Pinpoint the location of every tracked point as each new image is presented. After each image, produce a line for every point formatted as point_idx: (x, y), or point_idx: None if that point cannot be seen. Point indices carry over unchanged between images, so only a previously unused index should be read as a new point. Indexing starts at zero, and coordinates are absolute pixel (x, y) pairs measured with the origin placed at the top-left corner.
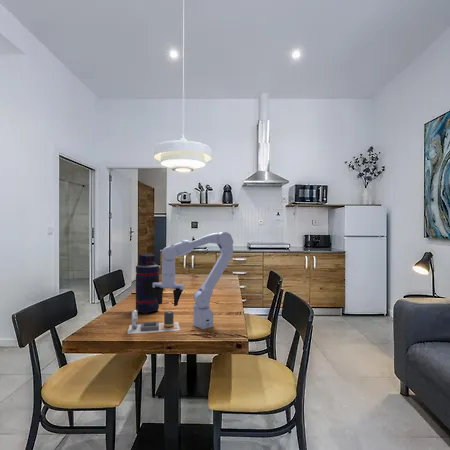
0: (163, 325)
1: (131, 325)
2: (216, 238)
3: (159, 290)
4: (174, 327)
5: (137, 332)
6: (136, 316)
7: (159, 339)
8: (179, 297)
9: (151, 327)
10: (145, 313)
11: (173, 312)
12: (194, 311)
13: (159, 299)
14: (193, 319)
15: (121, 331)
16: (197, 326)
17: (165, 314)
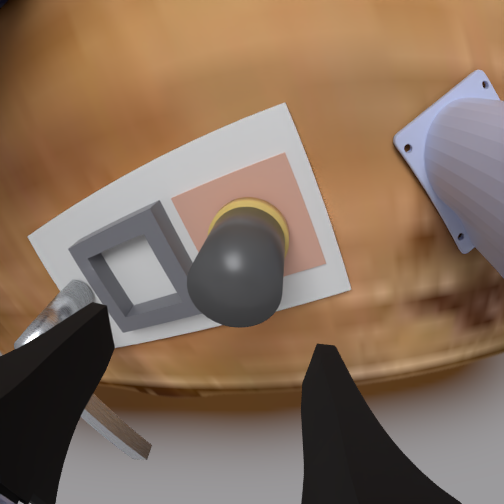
0: (204, 221)
1: (38, 243)
2: None
3: (38, 483)
4: (301, 253)
5: (127, 335)
6: (121, 441)
7: (264, 375)
8: (377, 423)
9: (169, 320)
10: (2, 4)
11: (281, 282)
12: (490, 238)
13: (87, 390)
14: (444, 180)
15: (50, 296)
16: (455, 213)
17: (216, 315)
